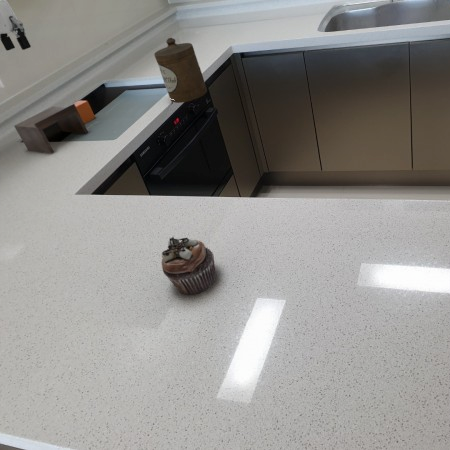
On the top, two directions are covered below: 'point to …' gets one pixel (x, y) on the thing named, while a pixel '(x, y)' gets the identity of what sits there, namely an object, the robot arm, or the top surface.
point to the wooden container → (180, 71)
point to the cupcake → (189, 265)
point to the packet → (84, 111)
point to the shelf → (34, 125)
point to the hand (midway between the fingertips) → (18, 48)
